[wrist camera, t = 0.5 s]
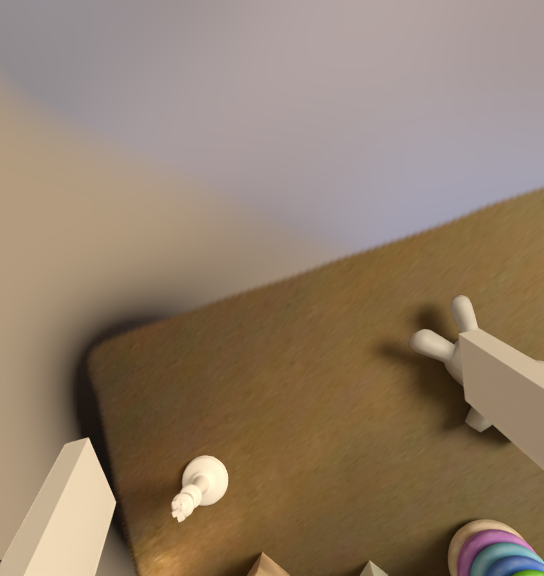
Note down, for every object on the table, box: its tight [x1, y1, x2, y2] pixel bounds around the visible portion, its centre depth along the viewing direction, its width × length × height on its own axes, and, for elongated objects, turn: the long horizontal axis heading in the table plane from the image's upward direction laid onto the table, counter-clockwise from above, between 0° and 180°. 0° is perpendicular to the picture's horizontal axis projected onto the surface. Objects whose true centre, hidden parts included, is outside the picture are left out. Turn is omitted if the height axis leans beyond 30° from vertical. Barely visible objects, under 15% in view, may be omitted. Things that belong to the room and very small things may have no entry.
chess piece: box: [172, 456, 228, 522], centre depth 39 cm, size 5×5×10 cm
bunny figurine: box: [408, 294, 544, 432], centre depth 41 cm, size 10×5×15 cm
